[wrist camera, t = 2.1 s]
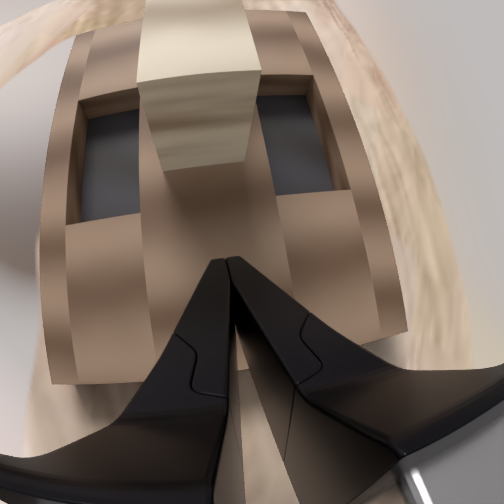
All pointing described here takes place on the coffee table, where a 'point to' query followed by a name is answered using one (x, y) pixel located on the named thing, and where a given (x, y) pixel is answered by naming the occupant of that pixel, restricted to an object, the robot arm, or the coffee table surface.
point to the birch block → (197, 80)
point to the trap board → (204, 208)
